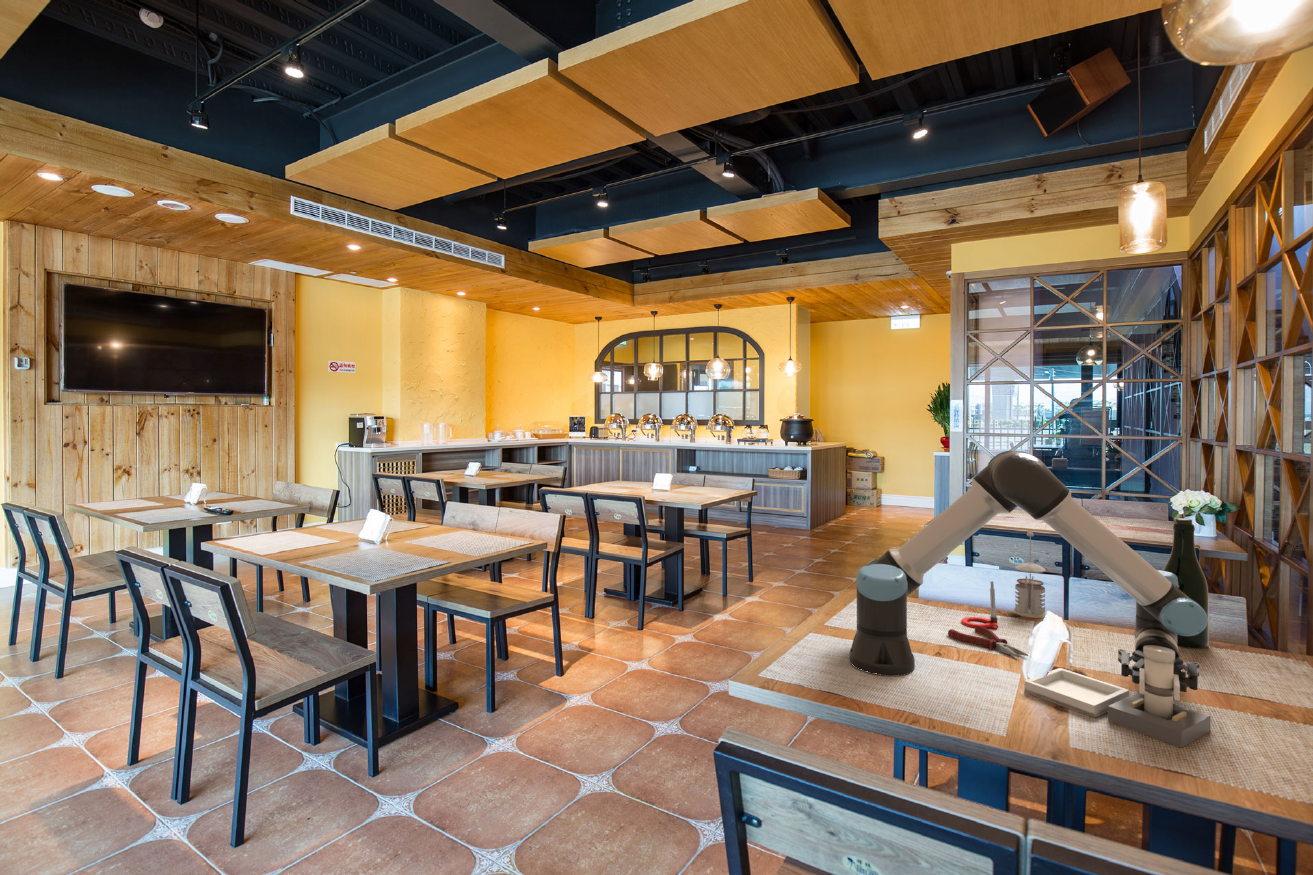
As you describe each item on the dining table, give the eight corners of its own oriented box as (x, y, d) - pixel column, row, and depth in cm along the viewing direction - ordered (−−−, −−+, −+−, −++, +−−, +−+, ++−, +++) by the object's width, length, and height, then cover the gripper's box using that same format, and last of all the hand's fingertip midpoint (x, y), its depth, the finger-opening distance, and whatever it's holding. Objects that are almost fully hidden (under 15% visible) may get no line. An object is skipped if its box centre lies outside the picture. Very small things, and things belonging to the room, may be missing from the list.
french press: (1048, 610, 195) (1049, 530, 195) (1048, 621, 185) (1048, 536, 185) (1012, 606, 201) (1012, 528, 200) (1010, 616, 191) (1010, 534, 190)
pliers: (1005, 663, 156) (1005, 653, 155) (945, 637, 175) (945, 628, 175) (1041, 658, 159) (1041, 648, 159) (978, 633, 178) (978, 623, 178)
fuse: (1167, 734, 120) (1168, 655, 119) (1137, 723, 124) (1138, 648, 123) (1178, 727, 122) (1179, 651, 121) (1149, 717, 126) (1150, 643, 126)
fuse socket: (1181, 747, 115) (1181, 728, 115) (1107, 720, 125) (1108, 702, 125) (1210, 730, 121) (1210, 712, 120) (1137, 706, 131) (1138, 689, 131)
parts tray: (1094, 717, 126) (1094, 705, 126) (1024, 691, 139) (1024, 680, 138) (1129, 701, 133) (1129, 689, 133) (1059, 678, 145) (1059, 667, 145)
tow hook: (962, 628, 182) (998, 630, 178) (960, 583, 182) (996, 585, 178) (960, 619, 190) (995, 621, 186) (958, 577, 190) (993, 578, 186)
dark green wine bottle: (1191, 636, 171) (1193, 515, 170) (1219, 650, 161) (1220, 522, 160) (1148, 634, 173) (1149, 515, 172) (1172, 648, 163) (1174, 521, 162)
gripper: (1210, 678, 132) (1221, 722, 113) (1107, 660, 142) (1102, 697, 124) (1210, 643, 131) (1222, 681, 113) (1107, 627, 142) (1102, 659, 124)
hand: (1159, 689), depth 118 cm, fingers closed on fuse, 4 cm apart
